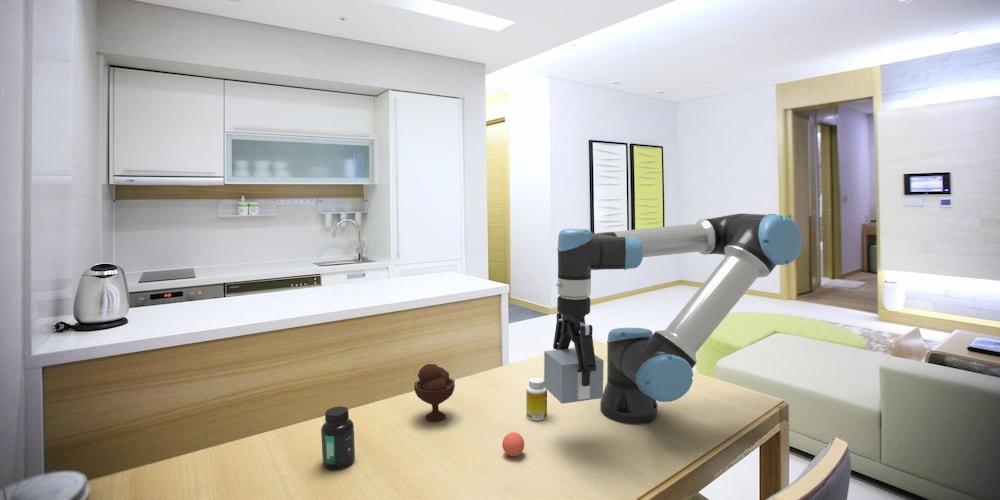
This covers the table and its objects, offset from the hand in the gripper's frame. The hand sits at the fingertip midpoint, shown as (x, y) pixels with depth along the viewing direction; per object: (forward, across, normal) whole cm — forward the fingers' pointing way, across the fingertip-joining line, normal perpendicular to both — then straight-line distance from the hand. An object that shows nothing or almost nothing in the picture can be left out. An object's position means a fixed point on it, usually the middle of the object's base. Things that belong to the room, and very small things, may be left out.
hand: (572, 389), depth 109 cm
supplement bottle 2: (+14, -16, -3) cm, 21 cm away
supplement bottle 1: (+14, -9, -53) cm, 55 cm away
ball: (+11, 0, -15) cm, 18 cm away
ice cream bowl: (+14, -24, -29) cm, 40 cm away
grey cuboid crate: (+1, 0, 0) cm, 1 cm away
